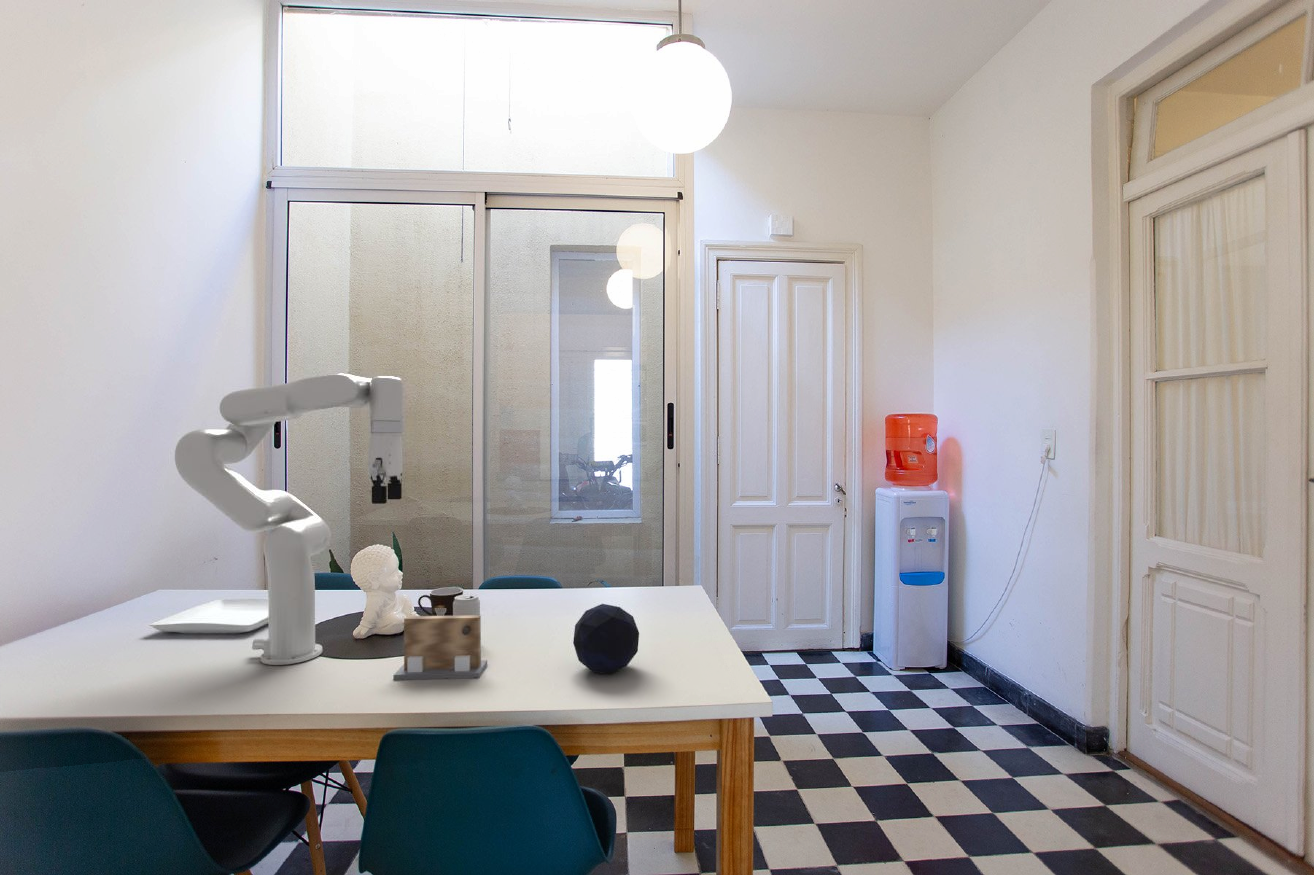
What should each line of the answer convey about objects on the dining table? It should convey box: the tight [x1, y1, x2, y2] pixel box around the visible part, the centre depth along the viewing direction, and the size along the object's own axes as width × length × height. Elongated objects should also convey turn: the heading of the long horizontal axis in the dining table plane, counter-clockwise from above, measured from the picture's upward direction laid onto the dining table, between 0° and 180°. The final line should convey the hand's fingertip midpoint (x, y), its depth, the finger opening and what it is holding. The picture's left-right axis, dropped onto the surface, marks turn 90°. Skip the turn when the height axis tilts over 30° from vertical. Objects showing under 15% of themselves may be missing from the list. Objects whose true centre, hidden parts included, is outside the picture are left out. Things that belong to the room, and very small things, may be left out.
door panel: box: [403, 614, 482, 670], centre depth 139 cm, size 16×3×11 cm, turn 93°
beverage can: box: [453, 593, 481, 616], centre depth 157 cm, size 6×6×12 cm
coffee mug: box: [417, 586, 464, 616], centre depth 172 cm, size 12×9×10 cm
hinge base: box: [392, 655, 488, 681], centre depth 139 cm, size 18×8×4 cm, turn 93°
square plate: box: [148, 597, 268, 634], centre depth 178 cm, size 27×27×4 cm
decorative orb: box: [572, 603, 640, 675], centre depth 140 cm, size 14×15×15 cm
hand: (387, 501), depth 151 cm, fingers open, 9 cm apart
